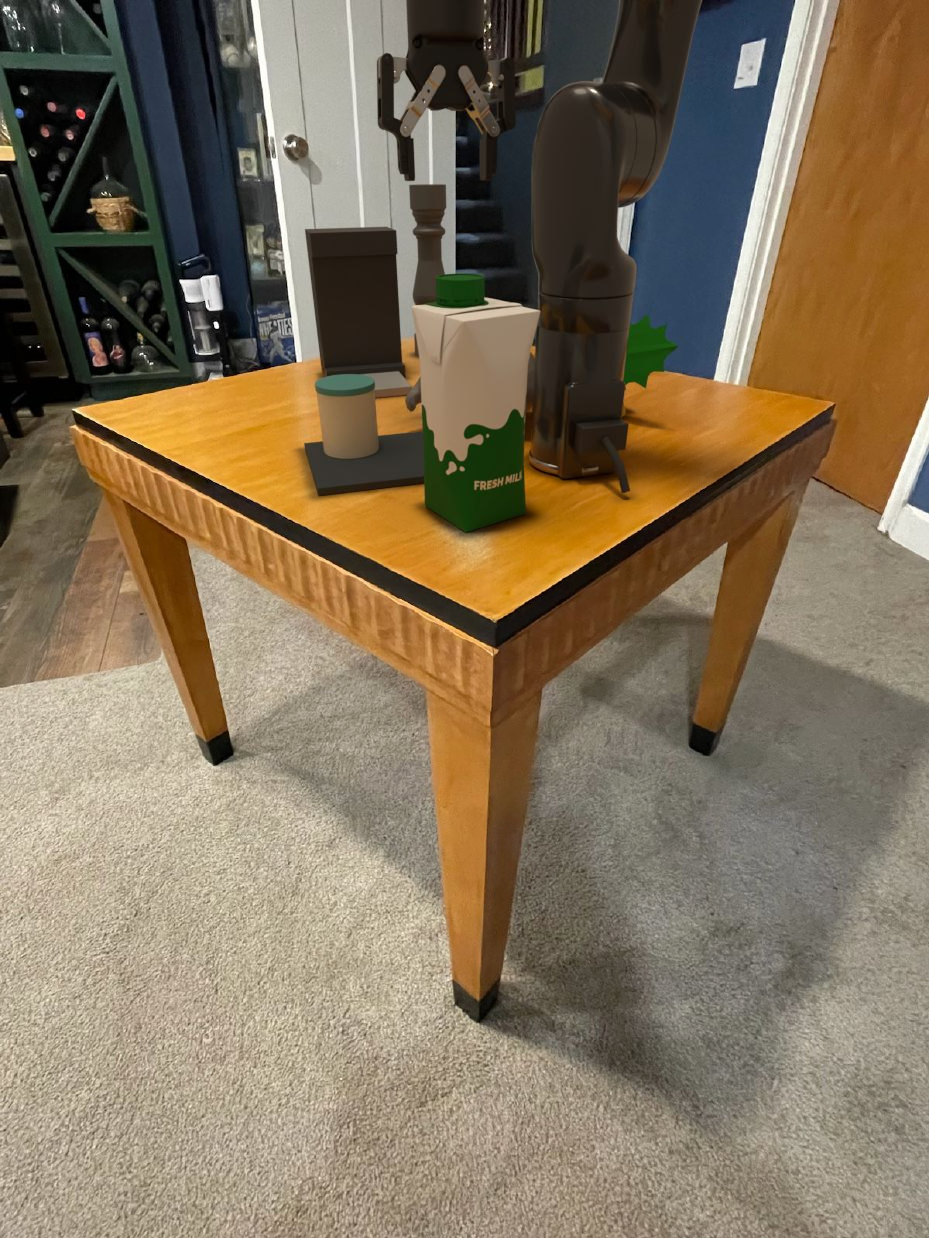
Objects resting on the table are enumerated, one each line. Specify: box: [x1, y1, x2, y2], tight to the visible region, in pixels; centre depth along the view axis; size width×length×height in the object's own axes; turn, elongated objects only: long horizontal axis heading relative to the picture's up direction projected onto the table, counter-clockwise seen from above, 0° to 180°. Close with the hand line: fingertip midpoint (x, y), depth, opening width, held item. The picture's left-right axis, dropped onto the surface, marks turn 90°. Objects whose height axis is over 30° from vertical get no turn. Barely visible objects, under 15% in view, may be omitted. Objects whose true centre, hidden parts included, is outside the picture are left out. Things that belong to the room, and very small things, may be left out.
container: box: [314, 374, 379, 459], centre depth 76 cm, size 6×6×8 cm
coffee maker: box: [304, 226, 413, 399], centre depth 99 cm, size 17×12×20 cm
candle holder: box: [408, 183, 447, 358], centre depth 113 cm, size 6×6×25 cm
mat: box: [304, 431, 424, 496], centre depth 76 cm, size 14×14×1 cm
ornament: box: [533, 313, 679, 418], centre depth 89 cm, size 21×8×15 cm, turn 44°
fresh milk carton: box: [411, 273, 540, 533], centre depth 60 cm, size 9×9×20 cm
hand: (448, 180), depth 74 cm, fingers open, 8 cm apart
